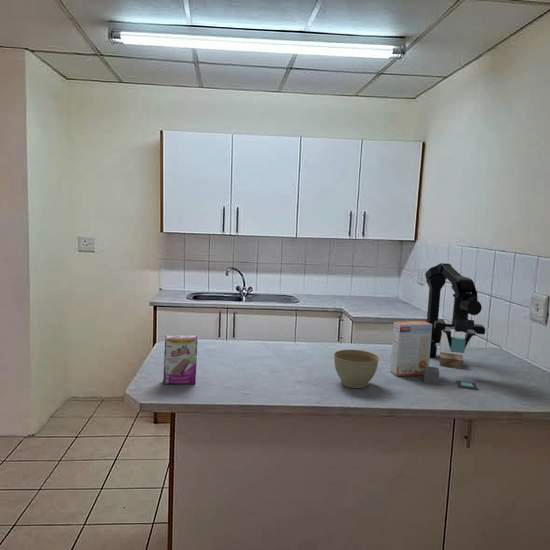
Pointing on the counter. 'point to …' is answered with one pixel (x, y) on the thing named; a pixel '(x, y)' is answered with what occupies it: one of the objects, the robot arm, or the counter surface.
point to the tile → (466, 385)
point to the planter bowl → (355, 367)
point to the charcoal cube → (431, 375)
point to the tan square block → (451, 360)
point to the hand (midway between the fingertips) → (457, 348)
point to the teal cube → (457, 345)
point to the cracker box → (410, 348)
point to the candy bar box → (180, 359)
